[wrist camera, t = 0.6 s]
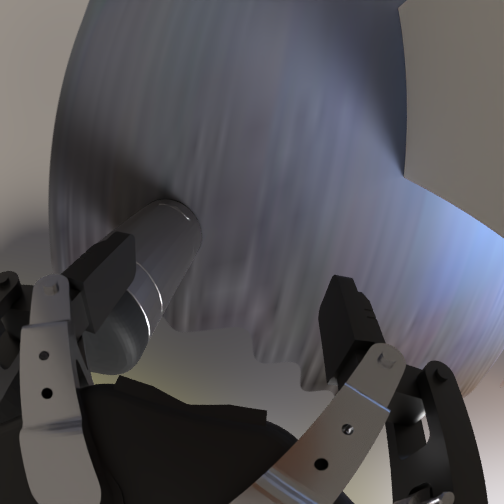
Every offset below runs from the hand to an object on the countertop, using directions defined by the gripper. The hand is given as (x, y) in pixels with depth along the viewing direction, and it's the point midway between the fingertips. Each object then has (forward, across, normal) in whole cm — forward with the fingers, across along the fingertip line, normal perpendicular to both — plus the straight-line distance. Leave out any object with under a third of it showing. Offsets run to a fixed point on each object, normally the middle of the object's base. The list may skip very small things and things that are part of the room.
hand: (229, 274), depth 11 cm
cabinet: (+23, +24, +16) cm, 37 cm away
